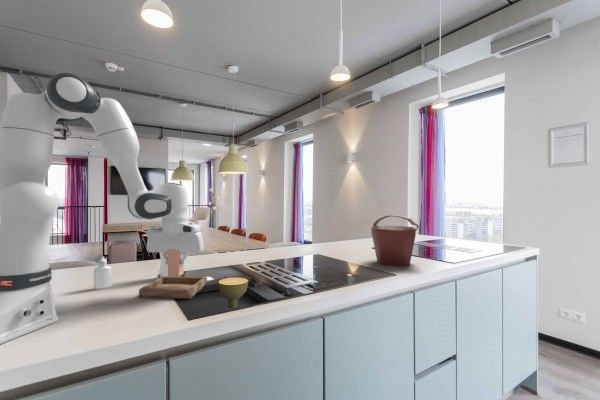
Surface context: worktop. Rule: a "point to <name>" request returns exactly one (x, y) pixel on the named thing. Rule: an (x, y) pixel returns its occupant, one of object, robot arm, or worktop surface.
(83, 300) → the worktop surface
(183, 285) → the tray
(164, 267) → the water bottle
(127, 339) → the worktop surface
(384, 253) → the bucket
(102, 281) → the eye dropper bottle
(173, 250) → the shaker
